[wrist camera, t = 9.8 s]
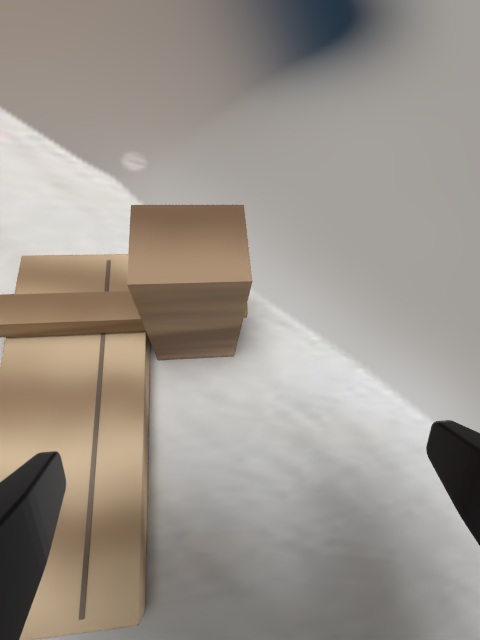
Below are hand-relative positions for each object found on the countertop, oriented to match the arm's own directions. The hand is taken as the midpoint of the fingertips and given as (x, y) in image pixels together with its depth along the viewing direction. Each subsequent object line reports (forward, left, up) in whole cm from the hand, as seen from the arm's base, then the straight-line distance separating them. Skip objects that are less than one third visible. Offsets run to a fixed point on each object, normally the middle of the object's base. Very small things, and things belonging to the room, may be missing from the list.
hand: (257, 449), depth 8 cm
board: (+4, +9, -14) cm, 16 cm away
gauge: (+9, +6, -14) cm, 17 cm away
